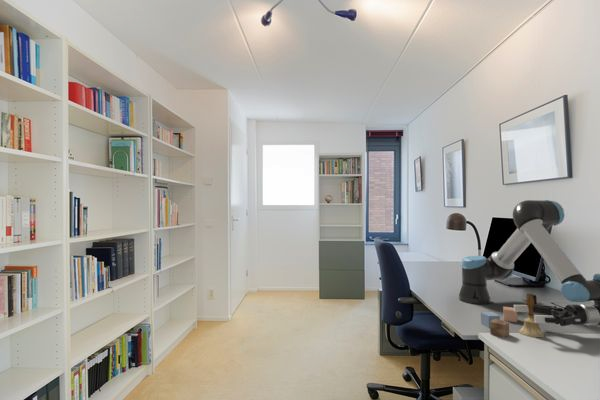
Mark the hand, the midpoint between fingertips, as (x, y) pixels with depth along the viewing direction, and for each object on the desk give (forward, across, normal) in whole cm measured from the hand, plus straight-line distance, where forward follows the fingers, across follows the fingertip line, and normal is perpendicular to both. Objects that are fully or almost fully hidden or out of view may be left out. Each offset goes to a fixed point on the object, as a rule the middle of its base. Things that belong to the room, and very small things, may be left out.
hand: (523, 313), depth 131 cm
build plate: (-31, +47, -9) cm, 57 cm away
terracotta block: (-4, +17, -8) cm, 19 cm away
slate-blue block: (+9, +8, -8) cm, 15 cm away
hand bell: (-3, 0, -8) cm, 9 cm away
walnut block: (+10, -2, -8) cm, 13 cm away
